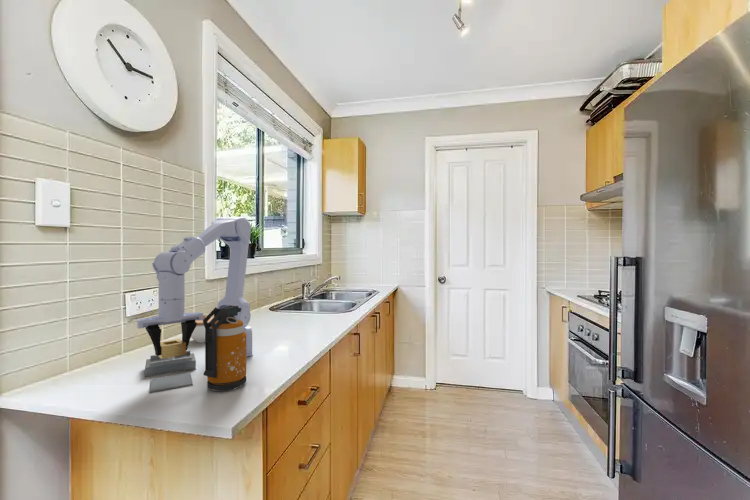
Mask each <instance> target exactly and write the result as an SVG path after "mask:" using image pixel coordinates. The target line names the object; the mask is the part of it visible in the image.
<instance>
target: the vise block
mask: <svg viewBox="0 0 750 500" xmlns="http://www.w3.org/2000/svg"><path fill="white" fill-rule="evenodd" d="M196 364H197V361H196V357H195V353H193V352H192V353H191V350H189V349H188V350H186V354H185V355H180V356H175V357H170V358H164V359H161V358H160V357H159V356H157V355H156V354H153V355H150V358H149V359H146V361H145V366H144V378H149V377H155V376H160V375H169V374H174V373H180V372H187V371H193V370H196V369H197V368H196V367H197V365H196Z"/></svg>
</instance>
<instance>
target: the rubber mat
mask: <svg viewBox="0 0 750 500" xmlns="http://www.w3.org/2000/svg"><path fill="white" fill-rule="evenodd" d="M193 383H194V382H193V378H192V373H191V372H185V373H180V374H172V375H167V376H162V377H155V378H151V379H150V388H149V393H150V394H151V393H152V394H153V393H156V392H157V393H158V392H161V391H167V390H173V389H179V388H180V389H181V388H184V387H185V388H186V387H190V386H193V385H194V384H193Z"/></svg>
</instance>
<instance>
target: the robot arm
mask: <svg viewBox="0 0 750 500" xmlns="http://www.w3.org/2000/svg"><path fill="white" fill-rule="evenodd" d="M251 234H252V226H251V224H250V222H249V220H248V219H247V218H246V217H244V216H240V217H217V218H216V219H214V220H212V222H211V225H209V226H208V227H206V229H204V230H203V231H202V232H200V234H198V235H197V236H192V235H191V236H185V237H183V241H181V242H180V243H178V244H177V245H174V246H171V249H170V250H168V251H163V252H160V253H158V254H157V256H155V259H154V261H153V262H152V268H153V270H154V272H155V273H156V279H157V281H158V315H156V316H152V317H145V318H137V319H136V328H137V329H140V330H141V329H145V331H146V332H147V334H148V336H149V338H150V339H151V343H152V344H153V349H154V355H157V356H159V355H161V346H160V342H161V336H162V329H161V326H163V325H170V324H171V325H172V324H178V323H179V324H181V340H182V341H184V342H186V351H188V350H189V348H188V347H189V343H190V340H191V339H192V338H191V335H192V333H193V331H194V329H195V328H196V325H197V322H195V321H196V320H199V321H200V320H203V315H204V312H202V311H199V312H186V313H185V303H186V301H185V293H186V291H185V284H186V283H185V281H186V279H185V275H186V274H185V273H188V272H189V270H190V268H191V265H192V264H193V262H194V261H195V260H197V259H199V257H201V256H202V255H203V254H205V252H206V247H207V246H209V245H210V244H212V243H213V242H215V241H216V240H218V239H220V241H222V243H224V244H226V245H227V246H228V247H229V248H230V251H229V253H230V254H229V261H228V269H227V278H226V285H225V286H226V287H225V294H224V297H223V298H222V299H221V300H219V301H218V302H217V307H216V308H218V309H220V308H224V307H228V306H238V308H241V312H238V315H236V316H234V317H235V319H237V320H241V321H242V322H243V324H244V332H245V333H246V358H247V357H251V356H253V355H254V354H253V330H252V326H248V325H249V323H250V321H251V310H250V306H251V303H249V301H247V300H246V299H245V297H244V291H245V281H246V272H247V263H248V262H247V261H248V255H249V254H248V253H249V252H248V251H249V244H250V242H251ZM217 321H218V320H217Z"/></svg>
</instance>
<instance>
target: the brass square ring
mask: <svg viewBox="0 0 750 500" xmlns="http://www.w3.org/2000/svg"><path fill="white" fill-rule="evenodd" d="M160 346H161V355H159V357H160V358H161V359H164V358H170V357H175V356H180V355H185V354H186V351H187V350H186V342H184V341H182V338H177V339H172V340H165V341H160Z"/></svg>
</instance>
